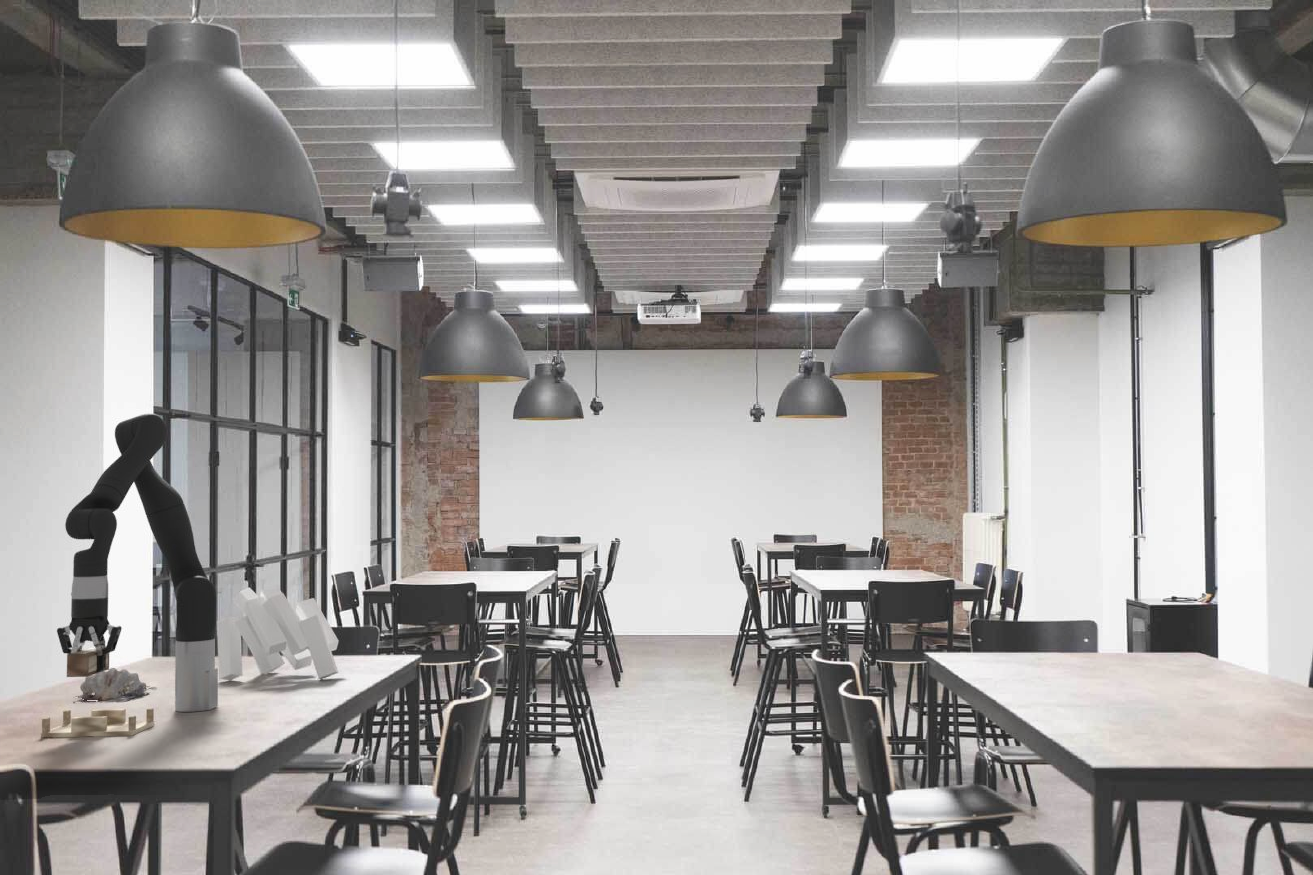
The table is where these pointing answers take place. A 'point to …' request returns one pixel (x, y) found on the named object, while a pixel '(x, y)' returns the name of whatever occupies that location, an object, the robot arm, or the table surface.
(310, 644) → the pile of blocks
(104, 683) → the grey rough lump
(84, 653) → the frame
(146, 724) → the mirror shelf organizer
